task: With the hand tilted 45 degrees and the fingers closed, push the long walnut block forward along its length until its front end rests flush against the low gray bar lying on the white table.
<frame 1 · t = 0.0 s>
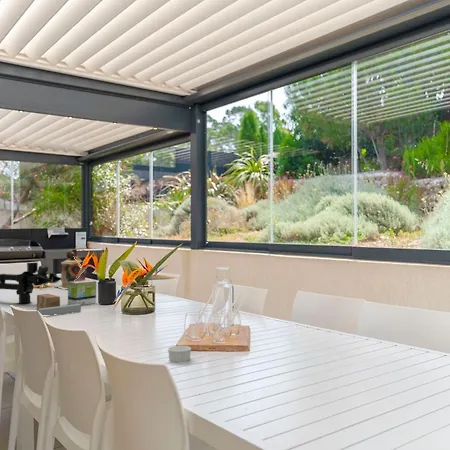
hand: (56, 279, 303), 17 cm above the table, tool horizontal, fingers open, 9 cm apart
walnut block: (48, 310, 286), on the table
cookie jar: (73, 287, 392), on the table
tea box: (82, 304, 310), on the table
ramekin: (179, 360, 184), on the table
gray bar: (59, 314, 275), on the table
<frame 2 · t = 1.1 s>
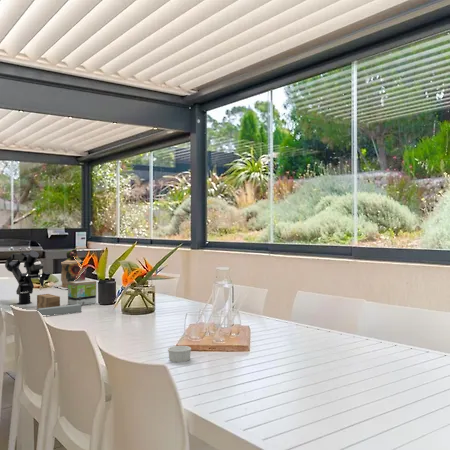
hand: (38, 287, 296), 13 cm above the table, tool tilted 45°, fingers open, 6 cm apart
nothing on the table moved.
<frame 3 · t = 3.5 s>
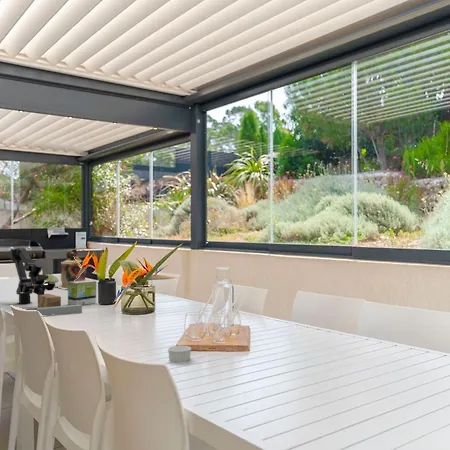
hand: (43, 297, 291), 7 cm above the table, tool tilted 45°, fingers closed, pressing on walnut block
walnut block: (49, 310, 285), on the table, touching gripper
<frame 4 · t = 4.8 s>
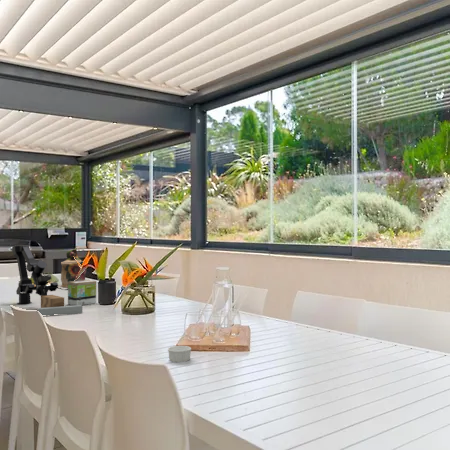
hand: (46, 298, 288), 7 cm above the table, tool tilted 45°, fingers closed
walnut block: (52, 312, 283), on the table
gray bar: (60, 314, 274), on the table
everything else where it was.
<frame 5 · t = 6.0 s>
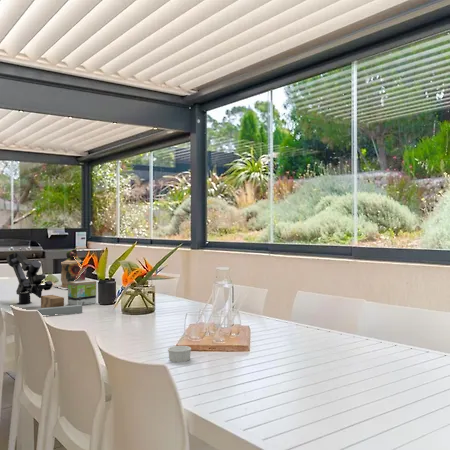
hand: (40, 297, 294), 7 cm above the table, tool tilted 45°, fingers closed
nothing on the table moved.
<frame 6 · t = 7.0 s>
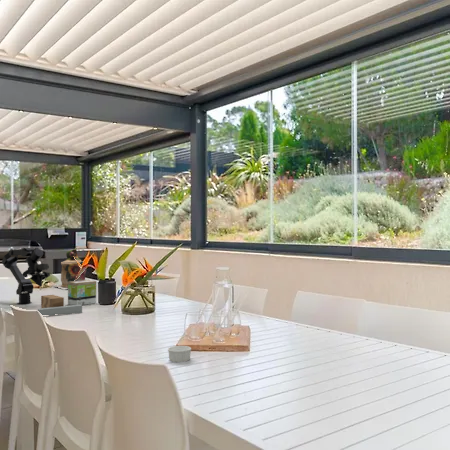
hand: (40, 286, 300), 13 cm above the table, tool tilted 35°, fingers closed
nothing on the table moved.
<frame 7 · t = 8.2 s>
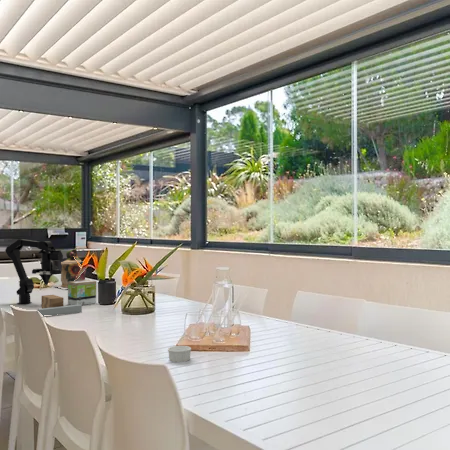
hand: (46, 284, 308), 12 cm above the table, tool pointing down, fingers closed
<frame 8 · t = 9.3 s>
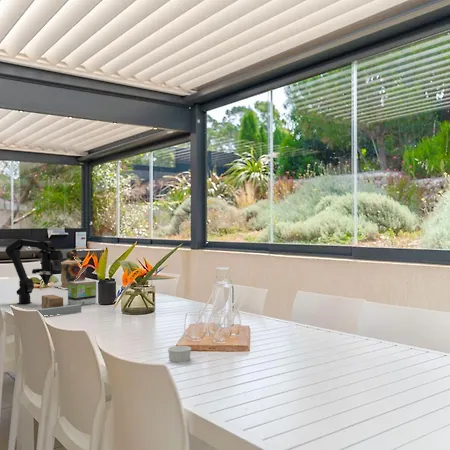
hand: (46, 284, 308), 12 cm above the table, tool pointing down, fingers closed
at the end: walnut block 1.0 cm from the target spot on the table beside the gray bar, on the table; walnut block tilted 0°; walnut block moved 5.3 cm from its start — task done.
